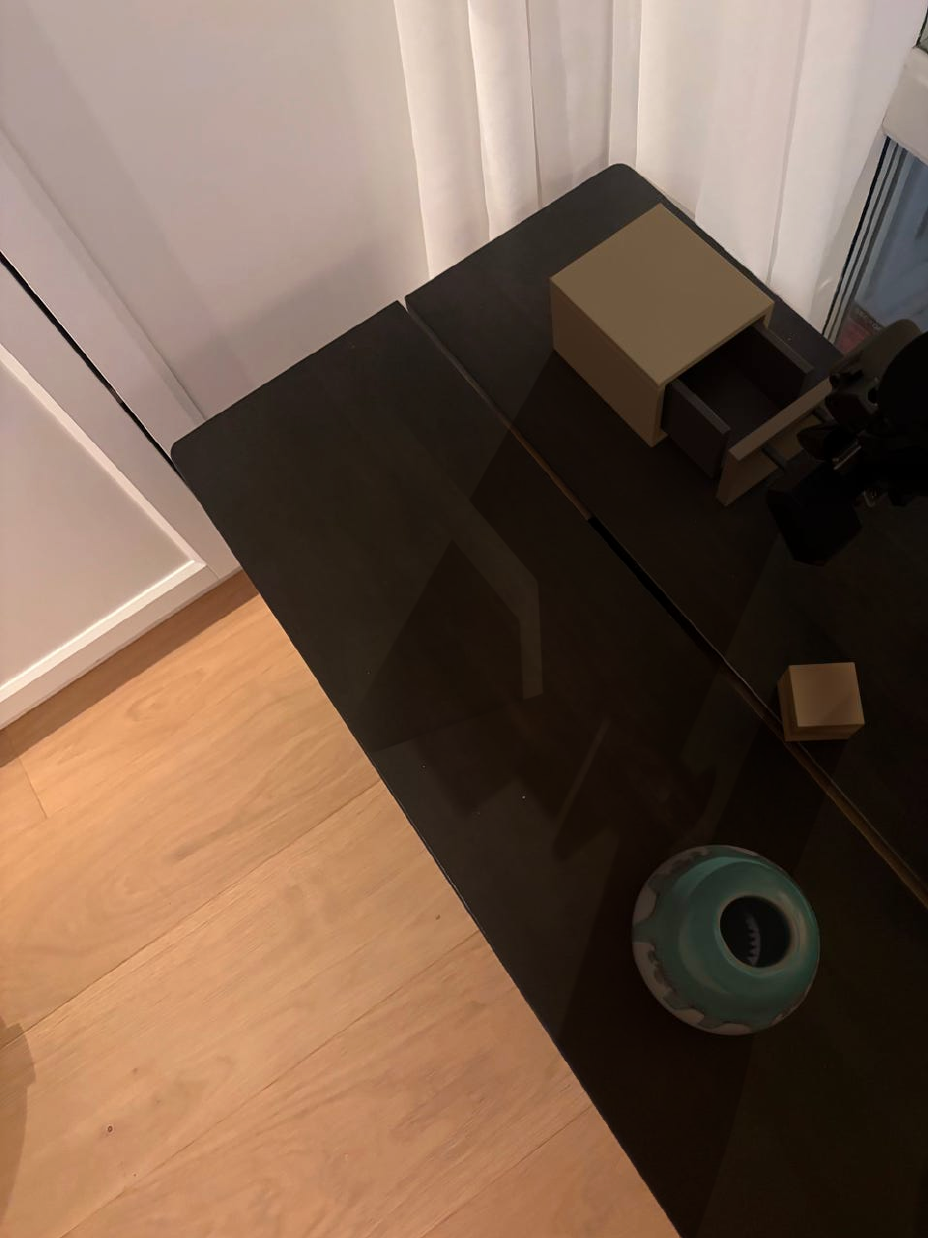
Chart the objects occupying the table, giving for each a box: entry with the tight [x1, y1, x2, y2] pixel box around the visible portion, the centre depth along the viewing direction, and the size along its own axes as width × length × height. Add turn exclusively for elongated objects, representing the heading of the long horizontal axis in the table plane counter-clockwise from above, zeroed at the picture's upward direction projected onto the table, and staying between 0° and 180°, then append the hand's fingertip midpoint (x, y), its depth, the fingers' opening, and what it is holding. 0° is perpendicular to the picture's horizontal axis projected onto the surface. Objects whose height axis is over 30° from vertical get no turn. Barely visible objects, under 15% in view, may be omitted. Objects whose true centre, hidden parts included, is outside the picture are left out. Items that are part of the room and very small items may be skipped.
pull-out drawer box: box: [660, 320, 835, 507], centre depth 73 cm, size 17×10×7 cm, turn 36°
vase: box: [630, 844, 821, 1036], centre depth 55 cm, size 12×12×18 cm
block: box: [776, 662, 865, 742], centre depth 66 cm, size 4×4×4 cm
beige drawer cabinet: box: [548, 202, 775, 448], centre depth 77 cm, size 14×12×9 cm
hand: (800, 437), depth 68 cm, fingers closed, pressing on pull-out drawer box
